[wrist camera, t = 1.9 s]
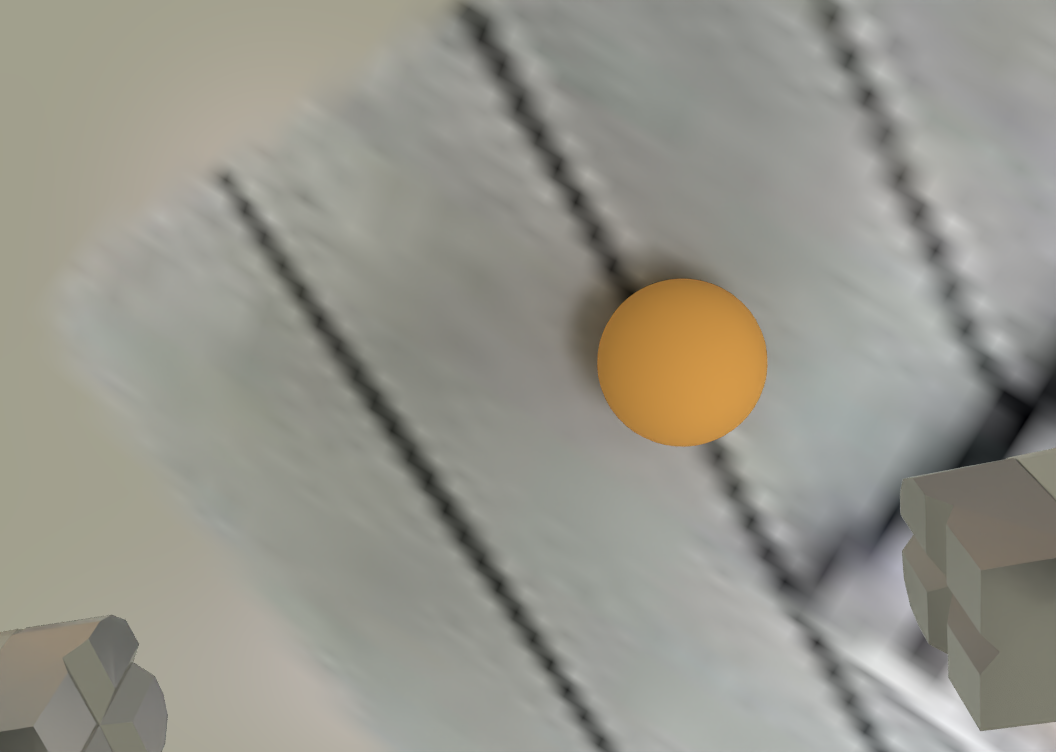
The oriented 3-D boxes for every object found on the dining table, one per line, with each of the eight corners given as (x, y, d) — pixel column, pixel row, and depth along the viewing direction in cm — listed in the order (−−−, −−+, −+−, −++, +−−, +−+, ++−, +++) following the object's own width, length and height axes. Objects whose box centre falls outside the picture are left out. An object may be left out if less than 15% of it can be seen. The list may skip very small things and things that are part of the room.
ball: (765, 385, 36) (803, 445, 31) (618, 428, 37) (630, 494, 31) (727, 242, 34) (761, 277, 29) (574, 290, 35) (578, 334, 30)
